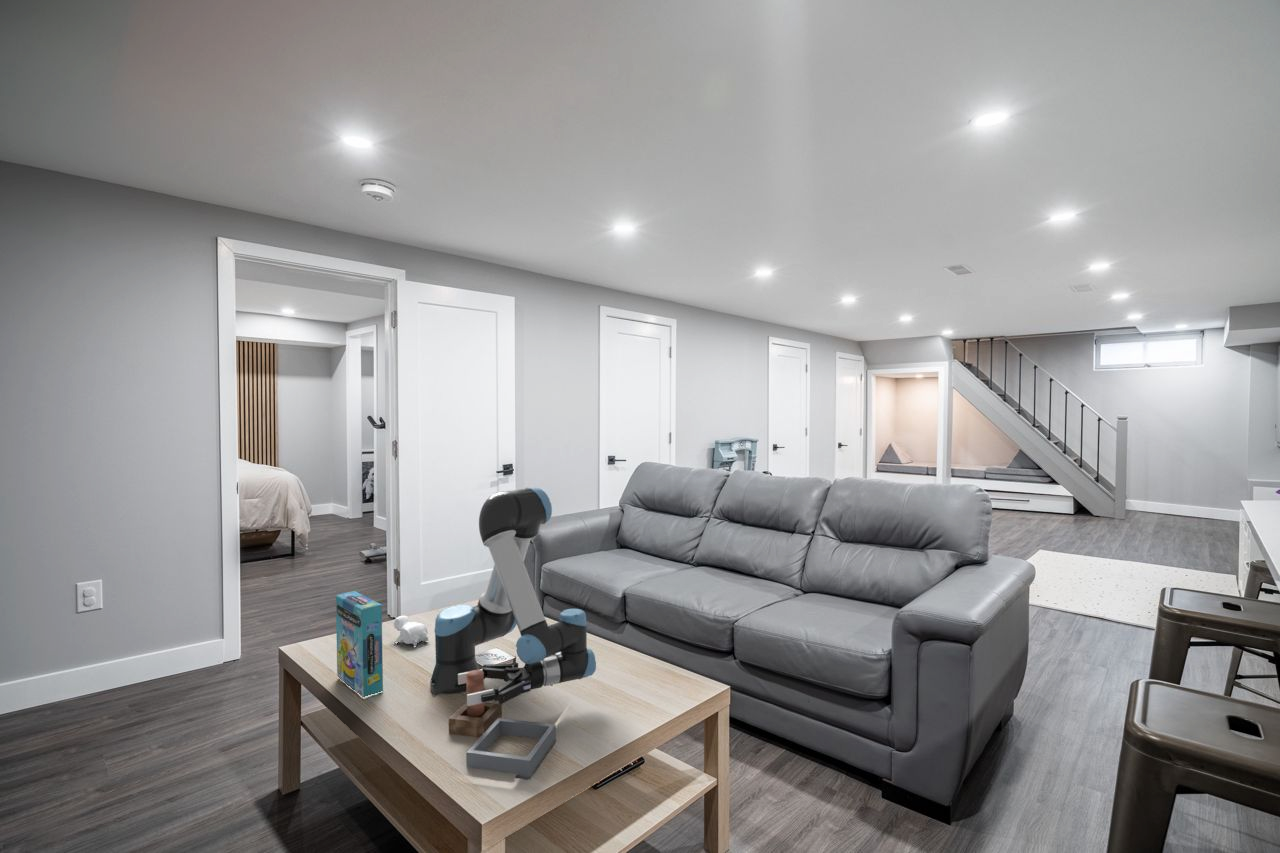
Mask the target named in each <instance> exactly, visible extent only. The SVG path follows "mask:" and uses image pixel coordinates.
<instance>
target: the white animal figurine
mask: <svg viewBox="0 0 1280 853" xmlns="http://www.w3.org/2000/svg"><path fill="white" fill-rule="evenodd" d="M393 628H394V629H396V630H397V631H398V632H399V636H398V637H397V638H396V640H395V641H394V643H395V642H400V643H401V642H403V643H404V644H407V645H409V644H411V645H413V647H414V646H416V647H417V645H418V644H420V643H422V642H426V641H429V638H430V635H429V631H428V628H427V626H426V625H425V624H423V623H420V622H415V621H410V619H409V617H408V616H407V615H399V616H398V617H396V618H395V619H394V622H393ZM421 641H422V642H421ZM419 642H420V643H419ZM417 643H418V644H417Z"/></svg>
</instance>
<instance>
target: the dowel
mask: <svg viewBox="0 0 1280 853" xmlns="http://www.w3.org/2000/svg"><path fill="white" fill-rule="evenodd" d="M466 680H467V691H466V695H467V694H471V693H476V692H481V691H485V683H484V681H485V679H484V672H483V671H481V670H480V669H479V670H473V671H470V672H468V673H467V674H466ZM483 715H484V703H480V704H476V705H471V706H467V716H469V717H478V718H481V717H482V716H483Z"/></svg>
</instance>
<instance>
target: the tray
mask: <svg viewBox="0 0 1280 853" xmlns="http://www.w3.org/2000/svg"><path fill="white" fill-rule="evenodd" d="M500 735H505V736H506V735H507V736H513V737H514V736H515V737H521V738H530V739H538V741H537V743H536V745H535V746H534V747H533V748H532V750H531V751H530V753H529V754H528V755H527V756H522V755H514V754H506V753H498V752H491V751H487V750H488V749H489V748H490V747H491V745H492V744H493V743H494V742H495V741H496V739H498V738H499V736H500ZM556 742H557V725H556V724H553V723H544V722H537V721H526V720H519V719H510V718H503V717H502V718H498V719H497V720H496V721H495V722H494V723H493V724H492V725H491V726H490V727H489V728H488V729H487V730H486V732H485V733H484V734H483V735H482V736H481V737H480V738H478V739H477V740H476V741H475V742H474V744H472V746H471V747H470V748H469V749H468V750H467V751H466V752H465V753H466V756H465V757H466V768H471V769H473V768H474V769H480V770H486V771H487V770H488V771H494V772H500V773H509V774H516V776H515V779H521V778H522V779H523V780H528V779H530V780H532V778H533V776H534V775H533V774H535V773H536V772H537V770H538V768H539V767H540V766H541V764H542V762H544V760H545V758H546V757H547V756H548V754H549V753H550V751H551V750H552V749H553V747H554V746H555V744H556ZM531 777H532V778H531Z"/></svg>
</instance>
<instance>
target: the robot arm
mask: <svg viewBox="0 0 1280 853" xmlns="http://www.w3.org/2000/svg"><path fill="white" fill-rule="evenodd" d="M552 515H553V506H552V503H551V500H550V497H549V496H548V494H547V493H546V492H545V491H544V490H543V489H542V488H539V487H525V488H521V489H515V490H514V489H513V490H504V491H498V492H495V493H492V495H491V496H489V497H488V498H487V499H486V500H485V502H484V503H483V505H482V506H481V509H480V512H479V518H478V530H479V535H480V538H481V542H482V544H483V546H485V548H486V547H487V548H488V550H489V552H490V555H491V557H492V560H493V564H494V565H493V567H492V571H491V574H490V578H489V581H488V585H487V588H486V590H485V591H484V592H482V593H481V594H480V596H479V598H478V602H477V605H475V606H473V605H470V604H464V603H463V604H458V605H453V606H450V607H447V608H445V609H442V610H441V611H440V612H439V613H438V614H437V615H436V617H435V623H434V629H433V630H434V634H435V636H434V637H435V639H434V643H435V645H434V646H435V665H434V669H433V672H432V675H431V678H430V683H429V689H430V692H431V693H432V694H433V695H436V696H438V695H439V694H440V695H441V694H442V695H445V694H446V695H453V694H460V693H463V692H467V680H466V674H467V673H468V672H470V671H473V670H481V671H483V672H484V680H485V679H493V680H502V681H504V682H505V683H503V684H502V685H501V686H499V687H494V688H492V689H491V688H490V689H486V690H485V689H484V691H481V692H476V693H471V694H467V693H466V702H467V706H471V705H476V704H480V703H485V702H492V701H494V702H498V703H499V704H502V705H503V704H504V703H506V702H508V701H510V700H512V699H514V698H516V697H518V696H520V695H522V694H524V693H528V692H531V691H532V690H536V689H540V688H542V687H549V686H550V687H553V685H557V684H561V683H567V682H570V681H571V682H572V681H576V680H582V679H585V678H588V677H591V676H593V675H594V673H595V672H596V670H597V669H596V668H597V661H596V655H595V653H594V651H593V649H591V648H588V647H587V641H588V640H587V637H588V636H587V634H588V633H587V630H588V629H587V626H588V625H587V615H586V612H585V611H584V610H582V609H581V608H580V609H579V608H567V609H564V610H562V611H561V612H560V613H559V621H558V622H556V623H553V624H551V625H549V624H548V623H547V620H546V618H545V615H544V612H543V610H542V606H541V604H540V602H539V599H538V596H537V594H536V591H535V588H534V586H533V583H532V580H531V578H530V575H529V573H528V569H527V567H526V565H525V559H526V555H527V553H528V548H529V546H530V544H531V540H532V539H534V538H536V537H537V536H538V534H539V530H540V527H541V525H545V524H546V523H548V522H549V521H550V520H551V518H552ZM516 627H517V628H518V631H519V634H520V637H518V639H517V641H516V645H515V647H516V654H517V657H518V658H519V660H520V661H521V662H522V663H523V664H524V666H523V667H519V662H512V663H499V664H498V663H494V664H491V663H488V664H487V663H485V664H483V665H482V667H481V669H480V667H479V664H478V662H477V659H476V646H479V645H482V644H484V643H488V642H489V641H490V642H491V641H493V640H496V639H499V638H502V637H504V636H506V635H507V634H509V633H511V632H513V631H514V629H515V628H516ZM558 652H561V654H558V655H557V654H556V653H558Z"/></svg>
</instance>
